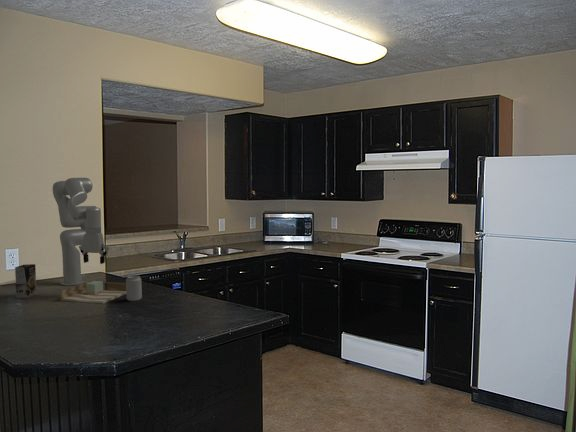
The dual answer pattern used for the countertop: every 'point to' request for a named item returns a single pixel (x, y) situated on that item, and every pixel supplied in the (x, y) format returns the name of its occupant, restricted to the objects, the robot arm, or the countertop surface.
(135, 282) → the can
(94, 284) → the block
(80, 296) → the corner guide
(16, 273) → the coffee box
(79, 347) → the countertop surface
